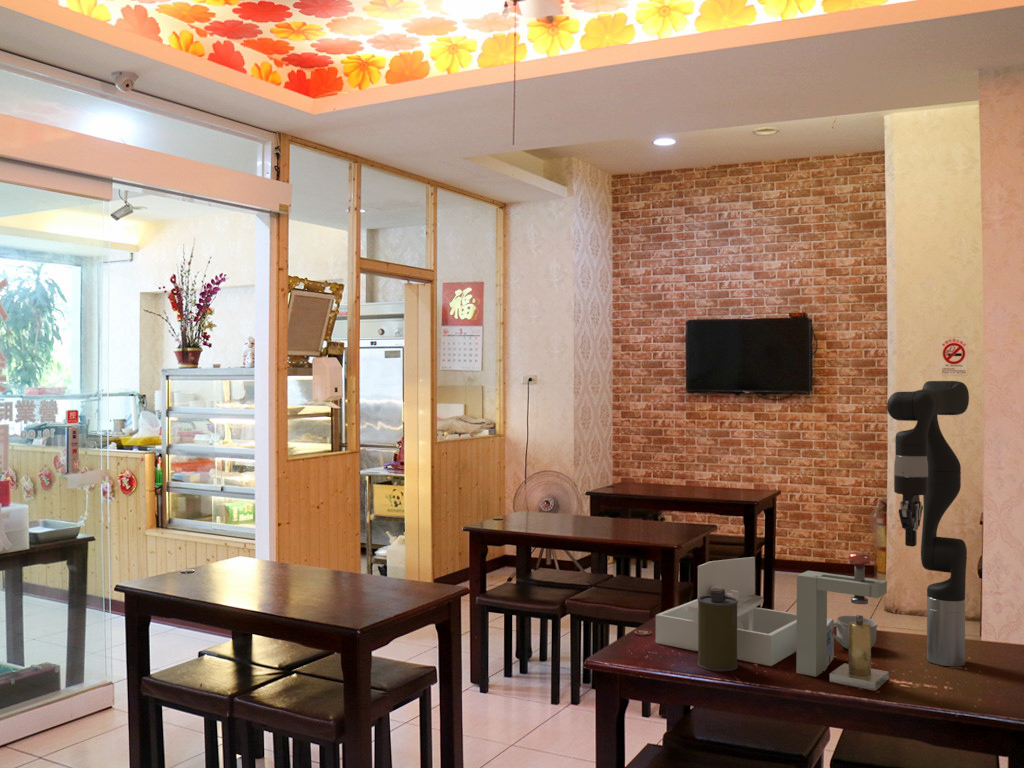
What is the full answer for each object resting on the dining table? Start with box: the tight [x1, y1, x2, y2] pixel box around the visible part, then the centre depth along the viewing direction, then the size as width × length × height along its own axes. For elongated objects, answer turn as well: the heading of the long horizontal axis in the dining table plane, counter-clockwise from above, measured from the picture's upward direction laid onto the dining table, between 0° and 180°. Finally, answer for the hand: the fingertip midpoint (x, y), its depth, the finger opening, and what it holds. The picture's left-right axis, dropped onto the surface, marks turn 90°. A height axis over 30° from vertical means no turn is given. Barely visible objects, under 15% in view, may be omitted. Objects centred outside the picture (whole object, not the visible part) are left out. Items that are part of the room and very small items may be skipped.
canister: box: [696, 588, 739, 672], centre depth 237 cm, size 11×10×20 cm
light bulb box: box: [827, 617, 835, 667], centre depth 242 cm, size 11×7×11 cm, turn 151°
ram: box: [848, 552, 871, 605], centre depth 226 cm, size 5×5×12 cm
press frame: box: [795, 570, 888, 678], centre depth 228 cm, size 8×20×25 cm, turn 52°
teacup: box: [834, 614, 878, 650], centre depth 254 cm, size 14×11×8 cm
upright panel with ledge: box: [686, 556, 764, 631], centre depth 259 cm, size 28×21×23 cm
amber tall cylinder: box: [848, 614, 872, 675], centre depth 226 cm, size 5×5×14 cm
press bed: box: [829, 663, 890, 692], centre depth 225 cm, size 11×11×2 cm
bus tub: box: [655, 598, 797, 667], centre depth 258 cm, size 27×34×8 cm
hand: (910, 545), depth 218 cm, fingers closed
